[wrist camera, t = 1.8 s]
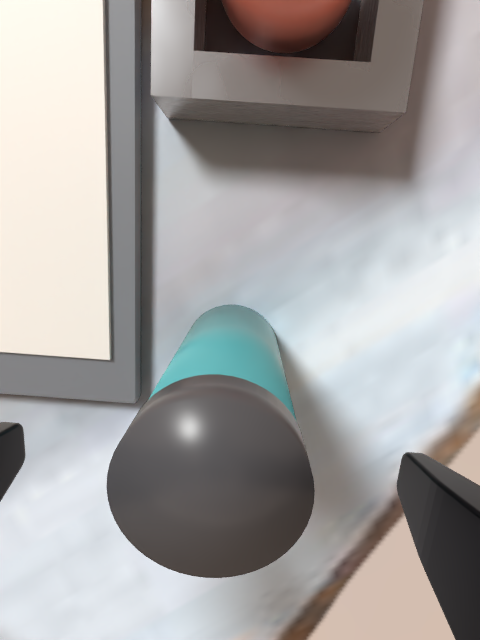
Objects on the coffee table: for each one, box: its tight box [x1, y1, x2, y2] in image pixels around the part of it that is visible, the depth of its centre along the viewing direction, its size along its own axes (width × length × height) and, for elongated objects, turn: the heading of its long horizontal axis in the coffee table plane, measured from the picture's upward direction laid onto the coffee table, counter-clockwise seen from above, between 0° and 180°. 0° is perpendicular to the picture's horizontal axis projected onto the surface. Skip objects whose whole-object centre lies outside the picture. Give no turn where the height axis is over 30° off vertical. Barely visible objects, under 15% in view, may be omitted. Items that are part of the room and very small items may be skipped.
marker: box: [107, 305, 314, 578], centre depth 12 cm, size 4×4×9 cm
